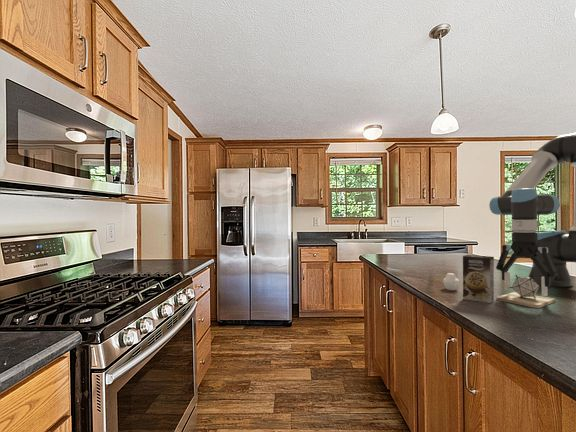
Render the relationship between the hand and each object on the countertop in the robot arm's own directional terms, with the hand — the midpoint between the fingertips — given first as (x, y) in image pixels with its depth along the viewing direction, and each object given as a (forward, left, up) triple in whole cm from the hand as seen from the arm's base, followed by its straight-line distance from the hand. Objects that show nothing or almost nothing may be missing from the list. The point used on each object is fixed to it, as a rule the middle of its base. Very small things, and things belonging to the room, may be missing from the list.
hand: (525, 292), depth 117 cm
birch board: (0, 0, -3) cm, 3 cm away
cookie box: (+11, -11, -3) cm, 16 cm away
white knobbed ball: (+4, -26, -3) cm, 26 cm away
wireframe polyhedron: (0, 0, -2) cm, 2 cm away
